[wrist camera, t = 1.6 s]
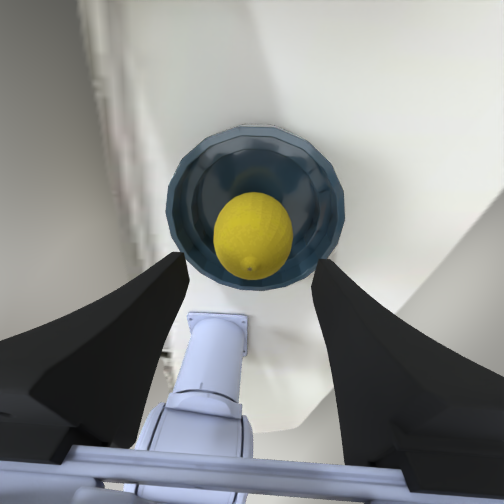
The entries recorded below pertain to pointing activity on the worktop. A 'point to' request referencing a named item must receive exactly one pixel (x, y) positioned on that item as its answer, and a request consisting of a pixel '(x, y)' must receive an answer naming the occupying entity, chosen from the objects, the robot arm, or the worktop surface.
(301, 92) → the worktop surface
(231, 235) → the lemon
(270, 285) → the bowl
